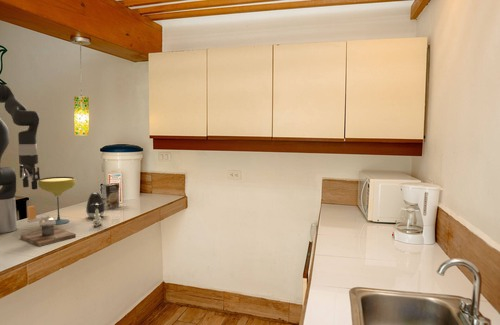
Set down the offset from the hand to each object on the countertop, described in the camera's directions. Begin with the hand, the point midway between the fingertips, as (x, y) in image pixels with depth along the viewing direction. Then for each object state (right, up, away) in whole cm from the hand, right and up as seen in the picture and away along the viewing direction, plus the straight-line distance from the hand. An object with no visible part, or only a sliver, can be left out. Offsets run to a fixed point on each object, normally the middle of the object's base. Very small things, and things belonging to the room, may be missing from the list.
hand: (30, 188), depth 164 cm
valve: (+18, -23, +31) cm, 43 cm away
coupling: (+2, -19, +6) cm, 20 cm away
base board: (+4, -25, +8) cm, 27 cm away
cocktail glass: (-6, -22, +35) cm, 42 cm away
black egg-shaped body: (+10, -21, +48) cm, 53 cm away
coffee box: (+10, -19, +71) cm, 74 cm away
